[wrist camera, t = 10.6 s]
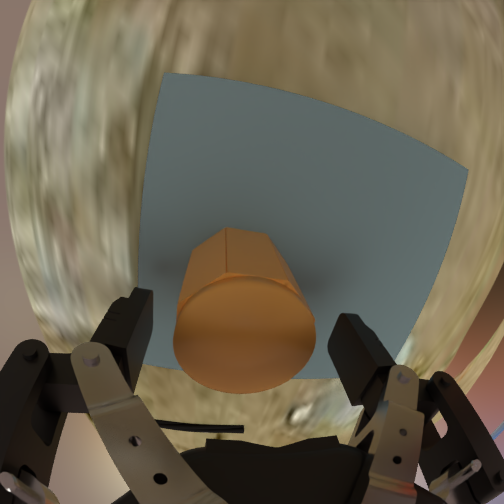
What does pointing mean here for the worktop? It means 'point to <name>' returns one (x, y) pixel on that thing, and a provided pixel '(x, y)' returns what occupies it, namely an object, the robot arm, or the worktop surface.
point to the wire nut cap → (241, 315)
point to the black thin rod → (201, 427)
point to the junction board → (295, 205)
